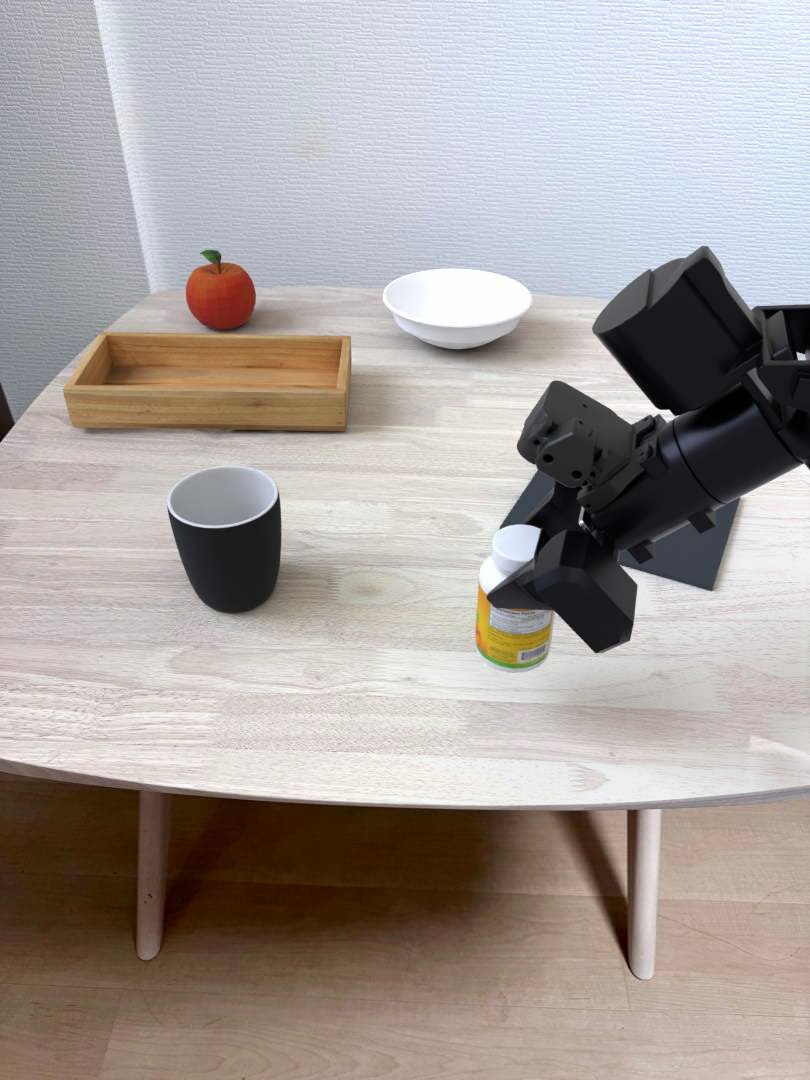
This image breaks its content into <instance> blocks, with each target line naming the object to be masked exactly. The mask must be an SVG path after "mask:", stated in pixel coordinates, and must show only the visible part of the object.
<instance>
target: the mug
mask: <svg viewBox="0 0 810 1080" xmlns="http://www.w3.org/2000/svg"><path fill="white" fill-rule="evenodd" d="M166 507H167V514H168V519H169V523H170V527H171V531H172V535H173V538H174V541H175V545H176V548H177V551H178V555H179V558H180V560H181V563H182V566H183V568H184V571H185V573H186V576H187V579H188V581H189V583H190V585H191V587H192V589H193V591H194V593H195V594H196V596H197V597H198V598H199V600H201V601H202V603H203V604H204V605H206V606H208V607H209V608H210V609H213V610H215V611H218V612H222V613H229V614H231V613H232V614H234V613H242V612H247V611H250V610H254V609H255V608H258V607H259V606H261V605H262V604H264V603H265V602H266V601H268V599H269V598H270V597H271V595H272V594H273V592H274V590H275V588H276V585H277V583H278V580H279V574H280V568H281V557H282V556H281V555H282V508H281V497H280V489H279V487H278V484H277V483H276V482H275V480H274V479H273V478H272V477H271V476H270V475H269V474H267V473H266V472H264V471H262V470H260V469H257V468H254V467H250V466H245V465H234V464H233V465H217V466H211V467H207V468H203V469H200V470H198V471H194V472H192V473H190V474H188V475H187V476H185V477H183V478H182V479H180V480H179V481H178V482H177V483H176V484H174V486H173V487H172V488H171V489H170V491H169V493H168V495H167V498H166Z"/></svg>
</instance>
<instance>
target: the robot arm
mask: <svg viewBox="0 0 810 1080" xmlns="http://www.w3.org/2000/svg"><path fill="white" fill-rule="evenodd" d="M591 331H592V333H593V334H594V336H595V338H597V339H598V340H599V342H600V343H601V344H602V345H603V347H605V349H606V350H607V352H608V353H609V354H610V355H611V356H612V357H613V358H614V360H615V361H616V362H617V363H618V365H620V366H621V368H622V370H623V371H624V372H625V373H626V374H627V375H628V377H629V378H631V380H632V381H633V382H634V384H635V385H636V386H637V387H638V388H639V389H640V391H641V392H642V393H643V394H644V395H645V397H646V398H647V399H648V400H649V401H650V403H651V404H652V405H653V406H654V407H655V408H656V409H658V410H659V411H669V412H670V413H671V414H672V416H674V418H673V419H671V420H670V421H668V422H667V421H666V420H665V418H664V417H663V416H662V415H661V414H660V413H658V414H656V415H654V416H653V415H652V414H648V415H645V416H644V417H643V418H640V420H638V421H636V422H634V423H629V422H628V421H627V420H625V419H624V418H622V417H620V416H619V415H618V414H617V413H616V412H615V411H613V409H611V408H609V407H608V406H606V405H605V404H603V403H601V402H599V400H597V399H594V398H593V397H590V396H589V395H587V394H585V393H584V392H582V391H580V390H578V389H577V388H576V387H573V386H572V385H570V384H568V383H567V382H565V381H561V380H558V379H557V380H552V381H551V382H550V383H549V384H548V386H547V388H546V389H545V390H544V392H543V394H542V395H541V397H540V398H539V399H538V400H537V402H536V404H535V406H534V407H533V409H532V410H531V411H530V413H529V414H528V416H527V417H526V419H525V421H524V422H523V428H522V431H521V434H520V437H519V438H518V440H517V442H516V450H517V452H518V454H519V456H521V457H522V458H523V459H524V460H525V461H526V462H528V463H530V464H532V465H533V466H535V467H536V469H537V471H538V470H539V471H540V472H542V473H544V474H546V475H547V476H549V477H551V478H553V479H554V480H555V484H554V487H553V488H552V490H551V491H550V492H549V493H548V494H547V495H546V497H545V498H544V499H543V500H542V501H541V502H540V503H539V504H538V506H537V507H536V508H535V509H534V510H533V511H532V512H531V513H530V514H529V515H528V516H527V518H526V519H525V520H524V521H523V522H522V523H521V524H520V525H530V526H534V527H537V528H539V529H541V530H540V534H539V537H538V541H537V545H536V549H535V552H534V557H533V558H532V559H531V560H530V561H528V562H527V563H526V564H524V565H523V566H522V567H520V568H519V569H518V570H516V571H515V572H514V573H512V574H511V575H510V576H508V577H507V578H506V579H504V580H503V581H502V582H500V583H499V584H498V585H497V586H496V587H495V588H493V589H492V590H491V591H490V592H489V593H488V594H487V597H486V599H487V600H488V601H489V602H490V603H491V604H492V605H493V606H494V607H495V608H502V609H529V610H551V611H555V614H557V616H558V617H560V619H562V620H563V622H565V624H566V625H567V626H568V627H569V628H570V629H571V630H572V631H573V632H574V633H575V634H576V635H577V636H578V637H579V638H580V639H581V640H582V641H583V642H584V644H585V645H586V646H587V647H589V648H590V649H591V651H592V652H593V653H594V654H603V653H607V652H608V651H611V650H612V649H615V648H617V647H619V646H622V645H624V644H626V643H628V642H630V641H631V638H632V634H633V633H632V632H633V628H634V625H635V615H636V606H637V605H636V604H637V596H638V588H639V587H638V586H639V584H638V583H637V582H636V581H635V580H634V579H633V577H631V576H630V574H629V573H628V572H627V571H626V570H625V569H624V568H623V567H622V565H620V564H618V561H619V554H620V551H621V552H623V551H625V550H627V551H628V552H629V553H630V554H631V555H632V556H633V558H634V559H635V560H636V561H637V562H638V563H639V564H642V563H644V562H646V561H648V560H650V559H652V558H654V552H655V541H657V540H659V539H660V538H662V537H664V536H666V535H668V534H670V533H672V532H674V531H676V530H678V529H680V528H682V527H684V526H685V525H687V524H689V523H691V524H692V525H693V526H694V528H695V529H696V530H697V531H698V532H699V533H700V534H701V533H703V532H705V531H707V530H709V529H711V528H713V527H715V526H716V509H718V508H720V507H722V506H724V505H726V504H728V503H730V502H731V501H733V500H735V499H737V498H739V497H740V498H741V497H743V496H745V495H747V494H749V493H751V492H752V491H754V490H757V489H758V488H760V487H762V486H765V485H766V484H768V483H770V482H772V481H774V480H776V479H778V478H779V477H781V476H783V475H785V474H787V473H789V472H791V471H793V470H795V469H797V468H799V467H801V466H803V465H804V466H806V468H807V469H808V470H809V471H810V303H808V304H777V305H776V304H774V305H772V304H770V305H755V306H754V307H753V308H750V307H749V305H748V304H747V303H746V301H745V300H744V299H743V297H742V296H741V295H740V294H739V292H738V291H737V290H736V288H735V287H734V285H733V284H732V283H731V281H730V280H729V279H728V277H727V276H726V273H725V270H724V268H723V265H722V264H721V261H720V260H719V258H718V257H717V256H716V254H714V252H713V251H712V249H711V248H710V247H709V246H708V245H701V246H700V247H698V248H697V249H696V250H694V251H693V252H692V253H690V254H689V255H687V256H686V257H678V258H675V259H672V260H669V261H668V262H667V261H666V262H665V263H664V264H661V265H660V266H658V267H657V268H655V269H653V270H652V269H651V268H648V269H647V270H645V271H644V272H642V273H641V274H640V275H638V276H637V277H636V278H634V280H632V281H630V283H629V284H627V285H626V286H625V287H624V288H623V289H621V291H619V292H618V293H617V294H616V295H615V296H614V297H613V298H612V299H611V300H610V301H609V302H608V303H607V305H606V306H605V307H604V308H603V309H602V310H601V312H600V313H599V314H598V316H597V317H596V318H595V320H594V322H593V324H592V327H591ZM798 354H801V355H804V358H805V359H803V360H799V358H798V357H799V356H798Z"/></svg>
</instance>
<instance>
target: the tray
mask: <svg viewBox="0 0 810 1080" xmlns="http://www.w3.org/2000/svg"><path fill="white" fill-rule="evenodd" d="M351 382H352V336H351V335H336V334H335V335H333V334H330V335H329V334H327V335H325V334H271V333H270V334H268V333H267V334H266V333H265V334H263V333H261V334H260V333H259V334H258V333H202V332H201V333H200V332H141V331H140V332H139V331H137V332H136V331H135V332H133V331H131V332H130V331H121V332H120V331H100V332H99V334H98V336H97V337H96V338H95V339H94V341H93V343H92V344H91V346H90V347H89V348H88V350H87V352H86V353H85V355H84V356H83V358H82V359H81V360H80V361H79V363H78V365H77V366H76V368H75V370H74V371H73V373H72V374H71V375H70V377H69V379H67V382H66V383H65V385H64V386H63V388H62V393H63V396H64V400H65V406H66V408H67V412H68V417H69V421H70V423H71V426H72V428H75V429H97V428H98V429H175V430H176V429H177V430H178V429H179V430H180V429H181V430H182V429H189V430H192V429H193V430H245V431H247V430H249V431H304V432H305V431H308V432H309V431H310V432H311V431H312V432H346V431H347V425H348V413H349V404H350V392H351Z"/></svg>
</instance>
